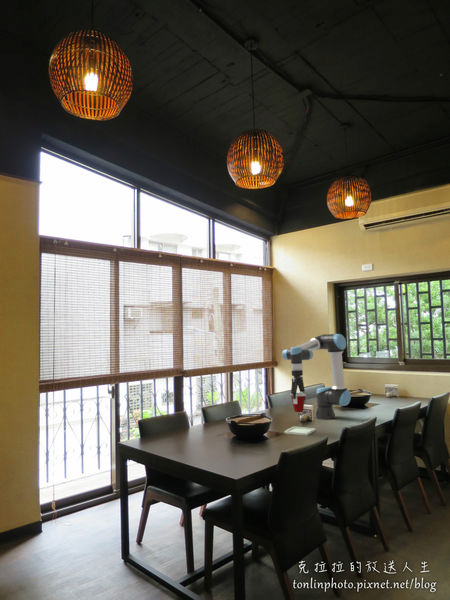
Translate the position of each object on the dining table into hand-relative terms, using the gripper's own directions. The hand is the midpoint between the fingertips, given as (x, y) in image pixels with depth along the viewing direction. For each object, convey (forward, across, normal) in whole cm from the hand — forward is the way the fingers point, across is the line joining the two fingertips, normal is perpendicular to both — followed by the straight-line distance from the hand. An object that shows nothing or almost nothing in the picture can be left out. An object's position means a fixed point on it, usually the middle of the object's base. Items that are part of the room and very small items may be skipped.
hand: (298, 402), depth 287 cm
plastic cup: (+6, 0, 0) cm, 6 cm away
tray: (+20, 0, 0) cm, 20 cm away
